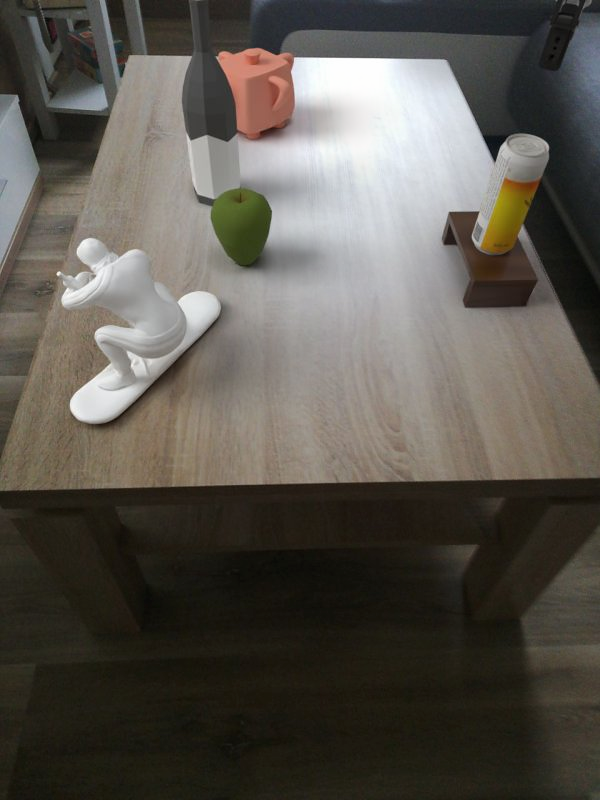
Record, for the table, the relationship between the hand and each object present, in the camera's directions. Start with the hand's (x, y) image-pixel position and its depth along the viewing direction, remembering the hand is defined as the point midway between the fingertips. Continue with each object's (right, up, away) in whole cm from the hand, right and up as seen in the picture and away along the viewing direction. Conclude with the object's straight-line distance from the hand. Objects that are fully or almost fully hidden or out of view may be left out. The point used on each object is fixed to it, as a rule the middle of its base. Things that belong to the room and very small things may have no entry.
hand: (554, 53), depth 61 cm
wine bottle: (-42, -2, +35) cm, 55 cm away
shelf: (0, -18, +25) cm, 30 cm away
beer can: (0, -15, +21) cm, 26 cm away
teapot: (-37, +16, +50) cm, 64 cm away
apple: (-36, -16, +25) cm, 47 cm away
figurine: (-47, -32, +12) cm, 58 cm away
